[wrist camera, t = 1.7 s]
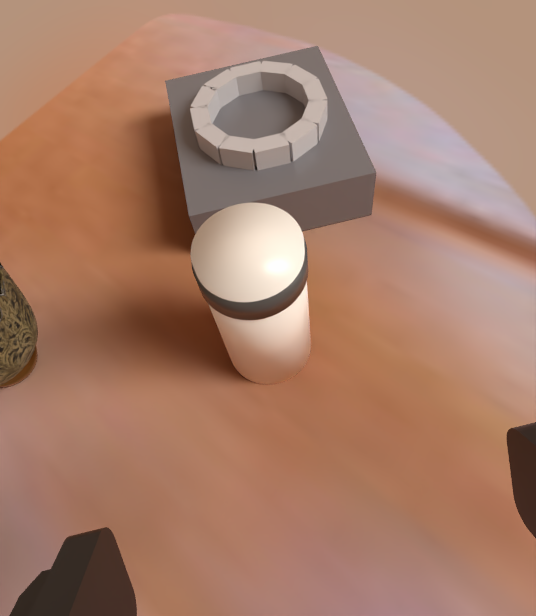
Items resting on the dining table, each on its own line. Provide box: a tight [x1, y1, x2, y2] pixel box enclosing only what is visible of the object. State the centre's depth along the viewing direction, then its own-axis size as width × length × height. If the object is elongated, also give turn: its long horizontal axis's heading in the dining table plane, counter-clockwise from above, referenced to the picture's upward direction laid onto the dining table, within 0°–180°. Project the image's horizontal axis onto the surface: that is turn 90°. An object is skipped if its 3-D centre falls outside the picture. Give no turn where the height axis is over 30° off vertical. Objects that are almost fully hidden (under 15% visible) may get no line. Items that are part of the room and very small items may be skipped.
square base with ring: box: [165, 46, 376, 234], centre depth 36 cm, size 12×14×6 cm
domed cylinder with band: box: [191, 203, 311, 385], centre depth 26 cm, size 5×5×10 cm
